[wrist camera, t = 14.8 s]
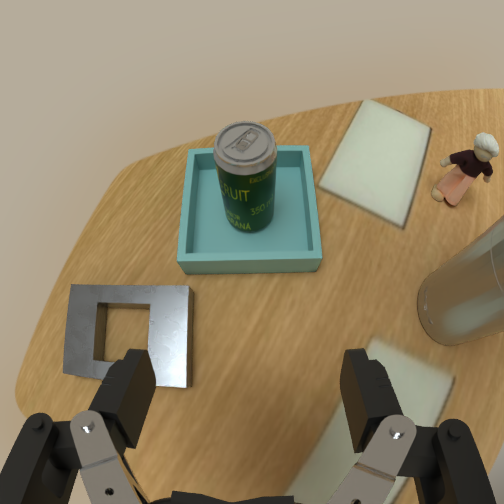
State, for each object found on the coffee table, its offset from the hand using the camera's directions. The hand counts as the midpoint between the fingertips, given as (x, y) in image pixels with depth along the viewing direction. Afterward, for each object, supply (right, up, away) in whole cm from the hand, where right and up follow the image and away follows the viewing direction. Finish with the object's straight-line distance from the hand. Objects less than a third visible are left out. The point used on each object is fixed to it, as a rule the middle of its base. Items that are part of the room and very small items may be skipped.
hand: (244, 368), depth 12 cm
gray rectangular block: (-13, -4, +20) cm, 24 cm away
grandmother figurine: (+27, +12, +25) cm, 39 cm away
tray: (0, +9, +25) cm, 26 cm away
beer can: (0, +9, +24) cm, 26 cm away
